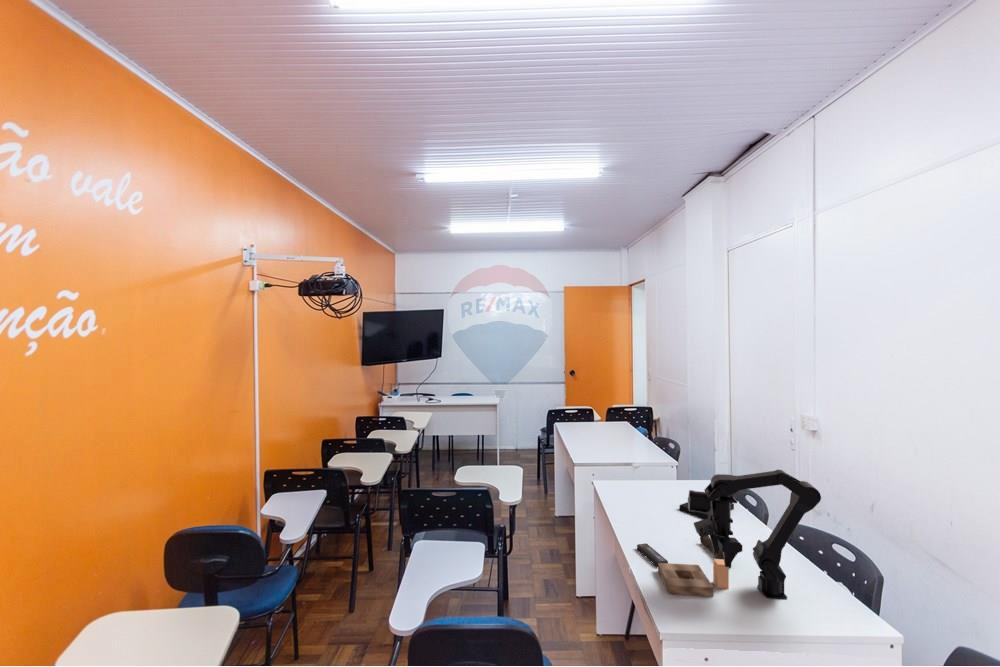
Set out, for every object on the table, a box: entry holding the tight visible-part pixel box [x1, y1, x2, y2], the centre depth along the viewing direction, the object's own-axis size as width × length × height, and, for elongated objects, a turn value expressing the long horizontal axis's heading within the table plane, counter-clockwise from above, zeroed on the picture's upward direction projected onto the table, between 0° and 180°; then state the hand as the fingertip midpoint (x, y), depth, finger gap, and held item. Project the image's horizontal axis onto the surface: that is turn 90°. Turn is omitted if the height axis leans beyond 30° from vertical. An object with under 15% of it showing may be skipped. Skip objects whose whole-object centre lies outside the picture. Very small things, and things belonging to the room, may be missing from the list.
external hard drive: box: [679, 501, 735, 520], centre depth 214 cm, size 14×23×3 cm, turn 125°
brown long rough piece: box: [699, 535, 732, 568], centre depth 170 cm, size 19×4×5 cm, turn 0°
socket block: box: [657, 562, 715, 597], centre depth 151 cm, size 14×14×3 cm
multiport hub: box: [636, 543, 669, 568], centre depth 169 cm, size 4×14×2 cm, turn 13°
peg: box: [712, 558, 730, 590], centre depth 150 cm, size 4×4×8 cm
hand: (721, 559), depth 150 cm, fingers open, 9 cm apart
